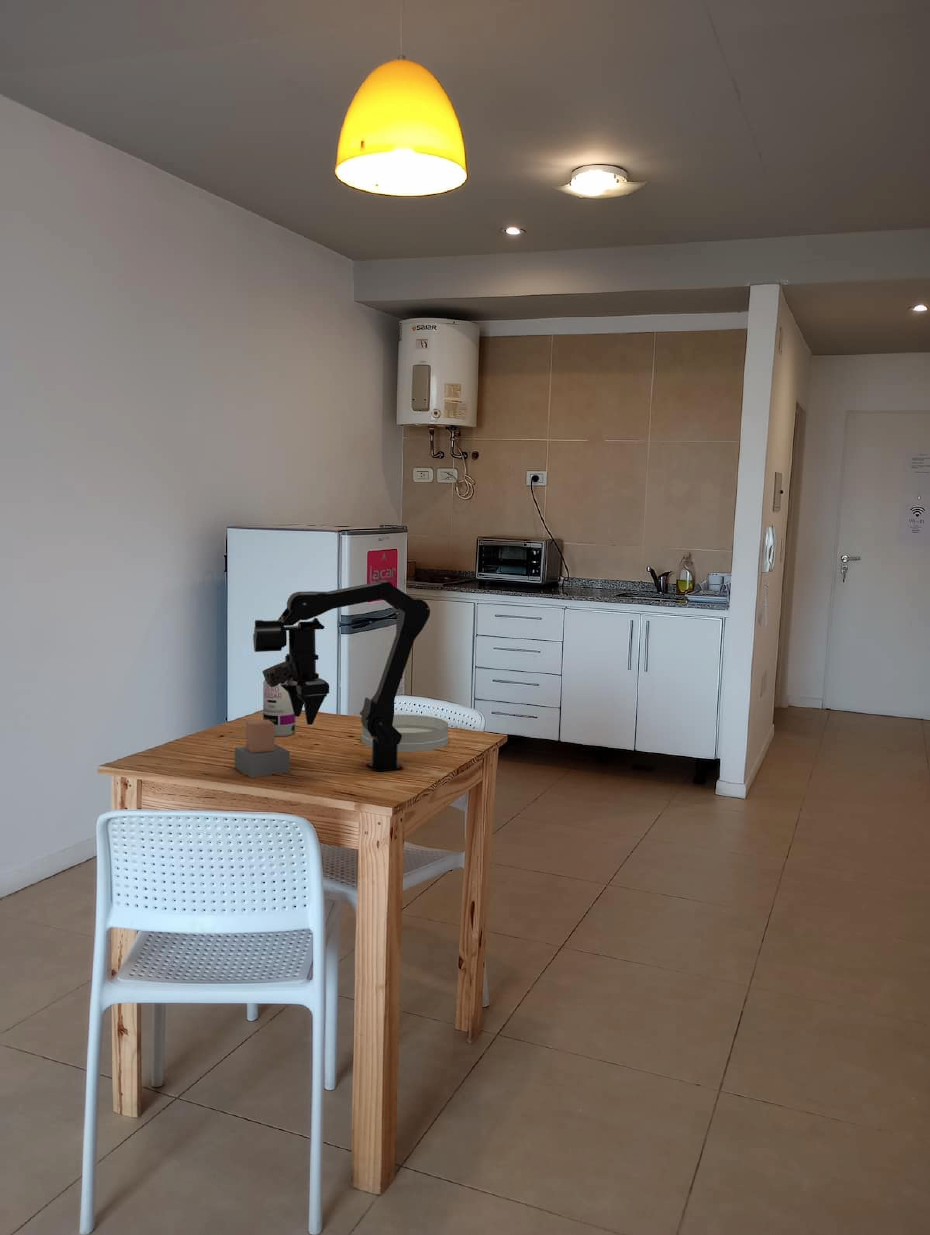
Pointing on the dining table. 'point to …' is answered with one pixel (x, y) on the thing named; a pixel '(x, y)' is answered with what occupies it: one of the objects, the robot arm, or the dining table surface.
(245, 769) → the grey base block
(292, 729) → the supplement can
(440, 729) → the dish
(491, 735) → the dining table surface
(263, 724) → the terracotta block
